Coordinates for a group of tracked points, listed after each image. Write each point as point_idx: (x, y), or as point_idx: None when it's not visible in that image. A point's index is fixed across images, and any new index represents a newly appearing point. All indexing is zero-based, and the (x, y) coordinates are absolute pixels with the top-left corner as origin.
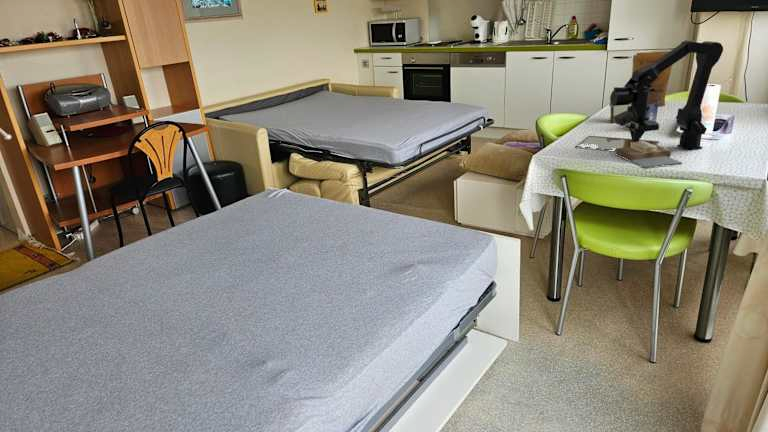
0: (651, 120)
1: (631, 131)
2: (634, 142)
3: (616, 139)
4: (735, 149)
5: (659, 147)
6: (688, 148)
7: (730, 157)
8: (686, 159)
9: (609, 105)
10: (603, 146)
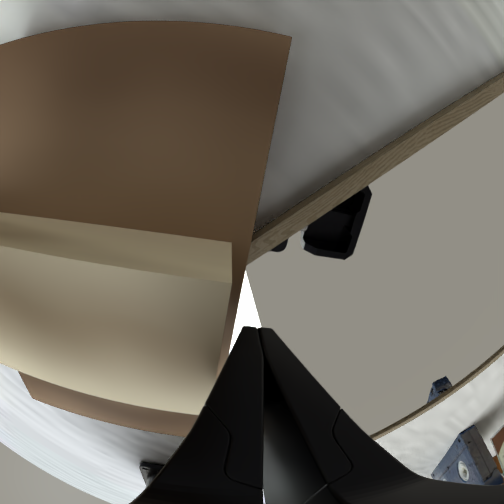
0: (441, 478)
1: (339, 478)
2: (186, 319)
3: (490, 349)
4: (116, 493)
5: (110, 412)
6: (146, 469)
7: (38, 450)
8: (8, 377)
9: None
10: (500, 181)
